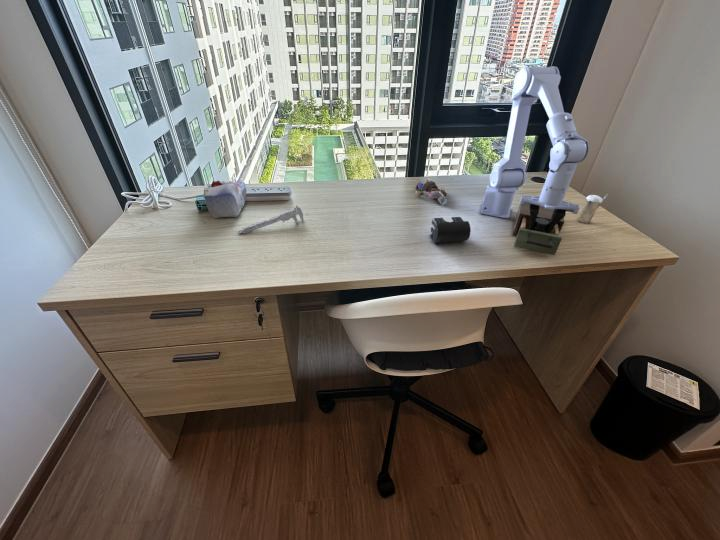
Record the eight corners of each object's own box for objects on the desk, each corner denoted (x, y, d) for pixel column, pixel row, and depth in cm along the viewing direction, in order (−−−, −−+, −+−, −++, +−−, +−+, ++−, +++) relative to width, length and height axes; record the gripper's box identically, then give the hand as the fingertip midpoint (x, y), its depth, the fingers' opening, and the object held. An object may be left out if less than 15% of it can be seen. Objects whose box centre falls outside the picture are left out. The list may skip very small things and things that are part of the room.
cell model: (198, 191, 101) (204, 170, 116) (207, 223, 107) (211, 199, 123) (242, 187, 104) (242, 167, 120) (249, 218, 110) (248, 195, 126)
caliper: (302, 221, 110) (301, 203, 106) (303, 222, 109) (302, 205, 105) (239, 232, 103) (234, 214, 99) (239, 234, 102) (235, 216, 98)
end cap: (435, 248, 97) (439, 227, 93) (428, 235, 103) (431, 216, 99) (467, 246, 98) (472, 226, 94) (459, 234, 104) (463, 214, 100)
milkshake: (596, 225, 110) (610, 197, 104) (579, 223, 111) (591, 195, 105) (591, 218, 114) (604, 191, 108) (574, 217, 114) (587, 190, 108)
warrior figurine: (407, 189, 132) (430, 209, 118) (409, 177, 129) (432, 196, 115) (433, 186, 135) (458, 205, 122) (435, 174, 132) (461, 192, 119)
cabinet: (554, 244, 100) (564, 221, 95) (512, 235, 104) (519, 213, 99) (553, 225, 109) (562, 204, 105) (515, 218, 113) (521, 197, 109)
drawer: (555, 264, 90) (563, 246, 86) (512, 254, 93) (518, 237, 90) (553, 236, 102) (560, 219, 98) (516, 229, 105) (521, 212, 102)
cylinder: (530, 236, 96) (535, 222, 94) (530, 230, 99) (535, 217, 96) (544, 239, 95) (549, 225, 92) (544, 233, 98) (549, 219, 95)
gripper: (526, 186, 88) (511, 231, 96) (588, 196, 83) (567, 242, 91) (527, 177, 93) (513, 220, 101) (585, 186, 88) (565, 231, 96)
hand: (538, 230), depth 96 cm, fingers closed on cylinder, 4 cm apart
